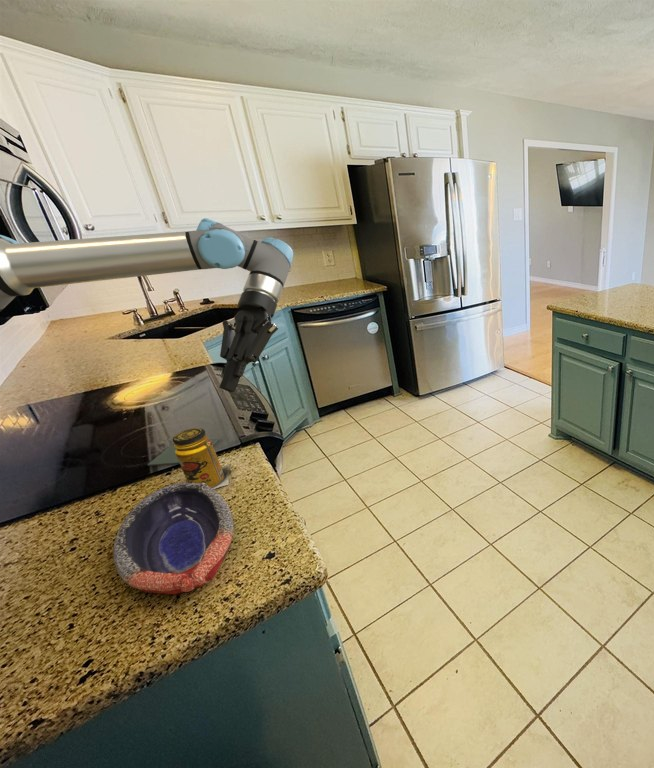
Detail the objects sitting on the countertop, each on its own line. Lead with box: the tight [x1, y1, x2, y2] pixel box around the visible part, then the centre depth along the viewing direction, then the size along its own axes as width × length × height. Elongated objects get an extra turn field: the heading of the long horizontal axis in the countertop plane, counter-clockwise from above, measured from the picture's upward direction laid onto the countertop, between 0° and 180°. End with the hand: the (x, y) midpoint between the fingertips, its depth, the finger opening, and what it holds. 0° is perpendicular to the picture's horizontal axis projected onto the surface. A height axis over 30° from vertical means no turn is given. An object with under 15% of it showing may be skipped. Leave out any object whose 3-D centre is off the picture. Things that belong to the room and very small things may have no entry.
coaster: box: [147, 437, 220, 467], centre depth 96 cm, size 10×10×1 cm
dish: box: [112, 482, 235, 595], centre depth 68 cm, size 16×31×5 cm, turn 41°
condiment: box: [172, 427, 230, 490], centre depth 84 cm, size 7×8×12 cm
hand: (227, 389), depth 89 cm, fingers closed
